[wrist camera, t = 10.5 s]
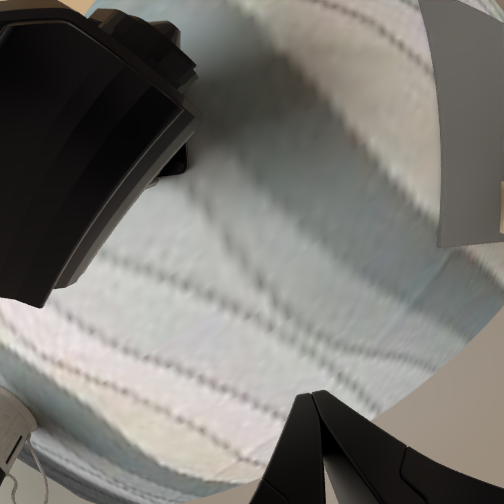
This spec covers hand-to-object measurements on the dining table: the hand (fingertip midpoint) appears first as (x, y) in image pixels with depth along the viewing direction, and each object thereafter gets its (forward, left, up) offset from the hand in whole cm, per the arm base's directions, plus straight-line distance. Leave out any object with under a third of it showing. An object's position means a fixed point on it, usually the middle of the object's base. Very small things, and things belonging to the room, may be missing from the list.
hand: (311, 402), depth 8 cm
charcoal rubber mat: (-10, +20, -13) cm, 26 cm away
